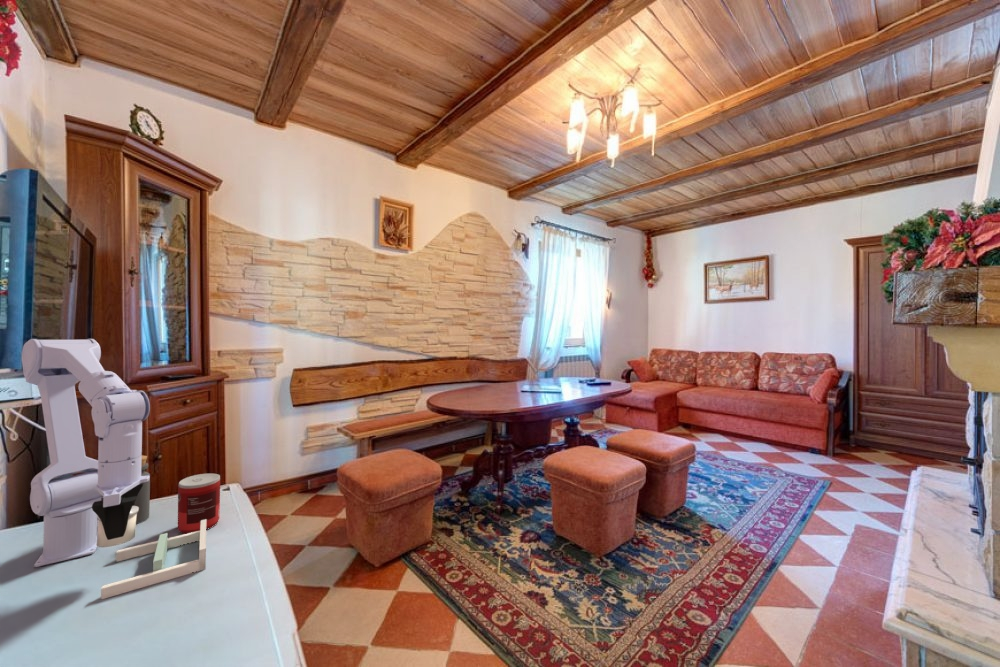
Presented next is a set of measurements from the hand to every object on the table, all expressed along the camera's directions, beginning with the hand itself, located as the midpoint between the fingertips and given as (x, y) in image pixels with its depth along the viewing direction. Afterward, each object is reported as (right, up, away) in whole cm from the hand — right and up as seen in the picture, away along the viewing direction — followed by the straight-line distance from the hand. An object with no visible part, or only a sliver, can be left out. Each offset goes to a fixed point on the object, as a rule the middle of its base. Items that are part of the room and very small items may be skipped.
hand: (119, 530), depth 70 cm
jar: (0, -2, 0) cm, 2 cm away
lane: (+4, -9, +4) cm, 10 cm away
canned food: (0, -9, +18) cm, 20 cm away
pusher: (+4, -9, +4) cm, 10 cm away
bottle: (-17, -8, +20) cm, 28 cm away
